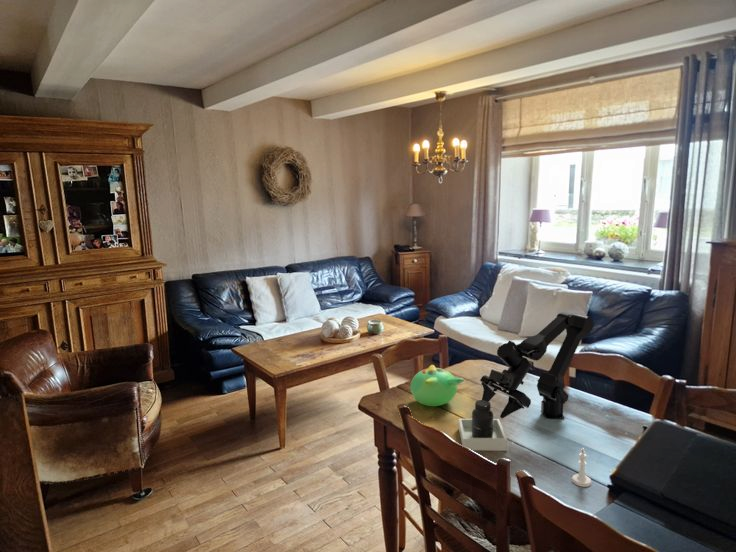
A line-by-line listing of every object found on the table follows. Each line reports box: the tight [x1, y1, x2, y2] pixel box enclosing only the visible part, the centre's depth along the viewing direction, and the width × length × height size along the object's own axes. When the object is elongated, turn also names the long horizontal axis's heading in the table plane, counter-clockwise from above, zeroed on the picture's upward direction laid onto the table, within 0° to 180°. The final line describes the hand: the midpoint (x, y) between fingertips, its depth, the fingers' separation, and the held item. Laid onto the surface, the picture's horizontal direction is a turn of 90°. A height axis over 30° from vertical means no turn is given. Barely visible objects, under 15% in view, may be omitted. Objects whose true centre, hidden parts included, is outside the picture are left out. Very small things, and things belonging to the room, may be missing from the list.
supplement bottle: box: [471, 399, 494, 438], centre depth 152 cm, size 7×7×12 cm
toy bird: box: [410, 364, 465, 407], centre depth 179 cm, size 18×17×15 cm
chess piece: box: [571, 447, 592, 488], centre depth 129 cm, size 5×5×10 cm
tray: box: [458, 418, 508, 452], centre depth 153 cm, size 14×14×4 cm
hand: (490, 412), depth 153 cm, fingers open, 9 cm apart
